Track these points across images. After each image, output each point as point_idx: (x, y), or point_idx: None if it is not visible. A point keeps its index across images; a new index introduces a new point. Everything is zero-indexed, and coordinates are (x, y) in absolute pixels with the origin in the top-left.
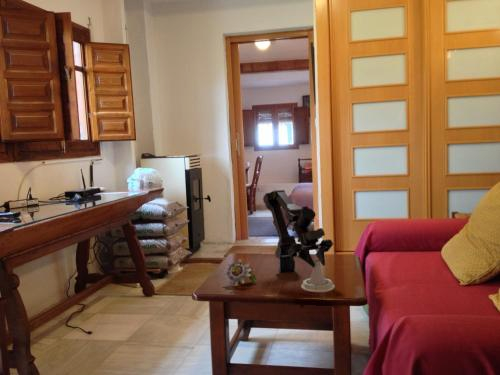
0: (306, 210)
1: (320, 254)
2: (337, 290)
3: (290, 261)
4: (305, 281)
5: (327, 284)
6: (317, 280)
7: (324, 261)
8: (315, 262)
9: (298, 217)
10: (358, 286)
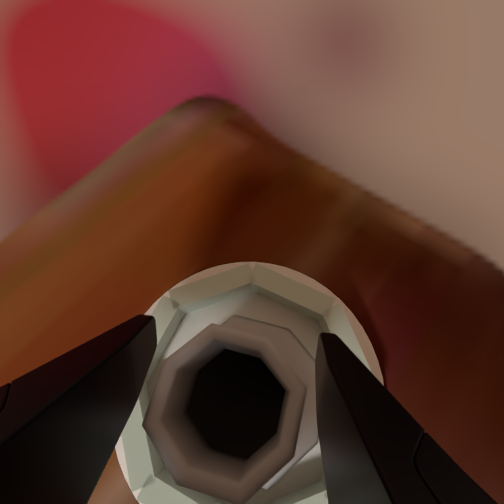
0: None
1: (7, 488)
2: (190, 247)
3: None
4: None
5: (229, 282)
6: (284, 339)
7: (113, 331)
8: (287, 365)
9: None
10: (30, 231)
